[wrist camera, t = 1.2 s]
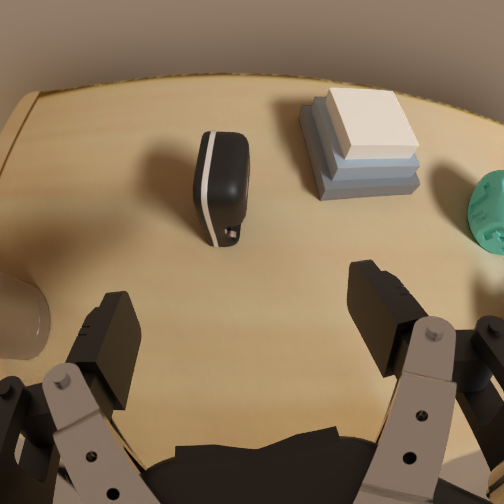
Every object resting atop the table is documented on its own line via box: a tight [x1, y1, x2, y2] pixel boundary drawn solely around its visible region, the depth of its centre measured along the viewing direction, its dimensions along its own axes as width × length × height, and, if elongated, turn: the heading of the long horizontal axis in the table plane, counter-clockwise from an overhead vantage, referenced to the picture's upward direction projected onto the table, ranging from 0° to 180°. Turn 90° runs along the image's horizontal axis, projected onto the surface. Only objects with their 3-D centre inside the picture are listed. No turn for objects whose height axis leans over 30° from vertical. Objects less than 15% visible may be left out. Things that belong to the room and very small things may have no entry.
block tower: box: [299, 88, 420, 201], centre depth 33 cm, size 12×12×8 cm
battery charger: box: [193, 130, 250, 247], centre depth 28 cm, size 7×4×11 cm, turn 176°
